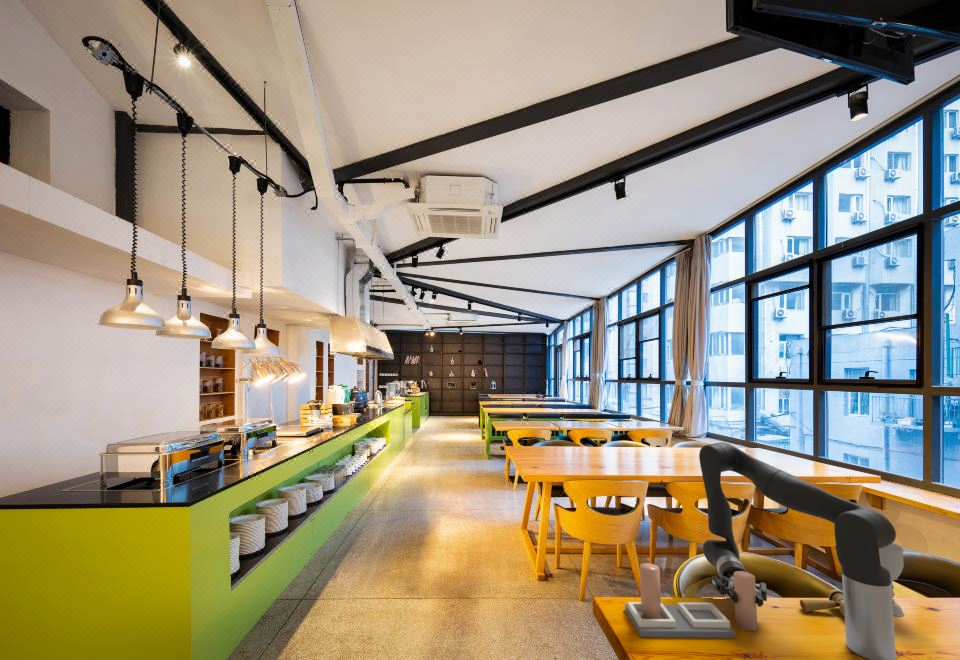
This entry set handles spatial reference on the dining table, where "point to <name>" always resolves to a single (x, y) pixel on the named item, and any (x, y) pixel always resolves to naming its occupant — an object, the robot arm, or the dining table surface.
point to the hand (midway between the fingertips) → (747, 601)
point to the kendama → (825, 602)
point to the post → (745, 601)
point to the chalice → (893, 568)
